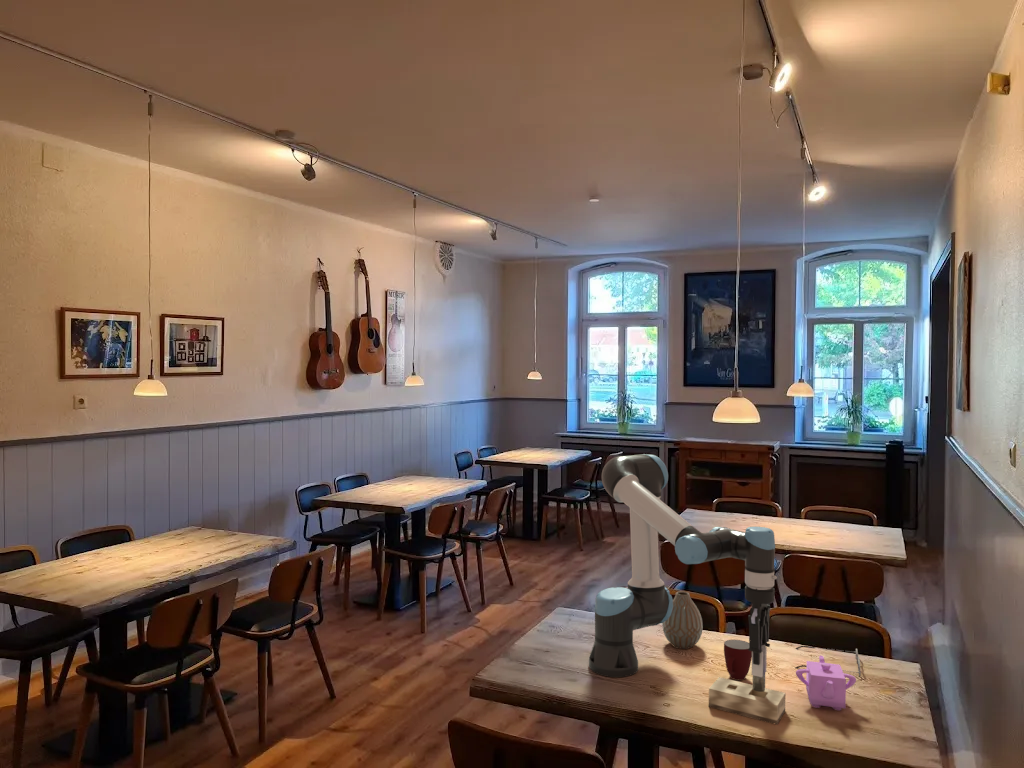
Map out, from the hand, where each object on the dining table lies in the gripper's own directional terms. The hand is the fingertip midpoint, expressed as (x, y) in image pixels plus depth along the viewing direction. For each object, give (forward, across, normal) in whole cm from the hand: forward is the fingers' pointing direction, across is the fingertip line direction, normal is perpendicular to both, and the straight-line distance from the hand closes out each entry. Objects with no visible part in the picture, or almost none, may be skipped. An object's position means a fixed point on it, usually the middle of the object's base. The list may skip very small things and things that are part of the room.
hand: (759, 673), depth 195 cm
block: (+11, 0, +3) cm, 11 cm away
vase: (+10, +35, +34) cm, 50 cm away
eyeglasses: (+11, +47, -9) cm, 49 cm away
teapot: (+11, +16, -14) cm, 24 cm away
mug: (+11, +18, +11) cm, 24 cm away
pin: (+4, 0, 0) cm, 4 cm away
